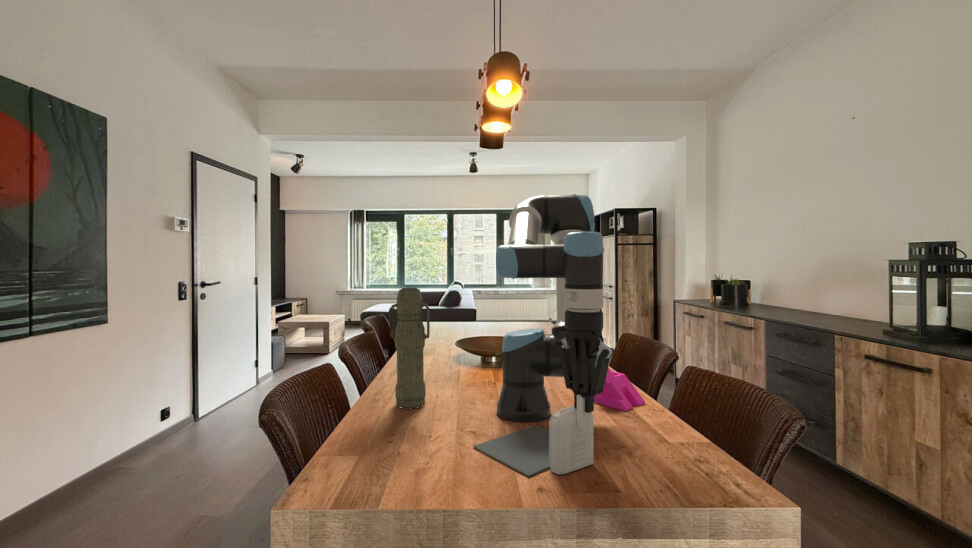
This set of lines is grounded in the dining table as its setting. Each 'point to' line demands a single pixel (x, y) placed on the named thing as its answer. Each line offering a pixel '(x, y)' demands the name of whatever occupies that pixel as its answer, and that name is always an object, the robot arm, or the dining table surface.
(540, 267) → the robot arm
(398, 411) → the dining table surface
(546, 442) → the mat
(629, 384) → the bracket
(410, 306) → the thermos
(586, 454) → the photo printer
